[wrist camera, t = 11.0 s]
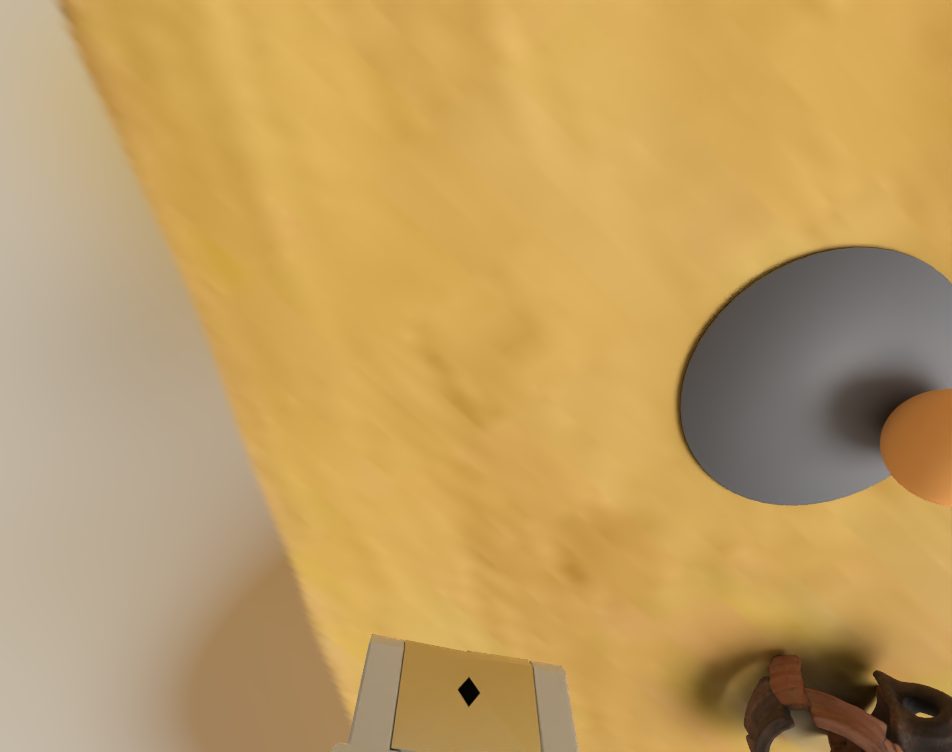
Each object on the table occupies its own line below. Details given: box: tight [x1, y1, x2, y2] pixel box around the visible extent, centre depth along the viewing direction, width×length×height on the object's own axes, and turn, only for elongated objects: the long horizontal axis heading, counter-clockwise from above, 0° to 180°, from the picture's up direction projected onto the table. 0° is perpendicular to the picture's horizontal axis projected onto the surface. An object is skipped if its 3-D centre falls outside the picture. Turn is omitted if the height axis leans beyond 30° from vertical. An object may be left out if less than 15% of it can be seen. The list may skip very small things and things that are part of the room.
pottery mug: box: [744, 655, 952, 752], centre depth 34 cm, size 12×10×8 cm
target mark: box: [680, 247, 952, 505], centre depth 28 cm, size 14×14×1 cm
